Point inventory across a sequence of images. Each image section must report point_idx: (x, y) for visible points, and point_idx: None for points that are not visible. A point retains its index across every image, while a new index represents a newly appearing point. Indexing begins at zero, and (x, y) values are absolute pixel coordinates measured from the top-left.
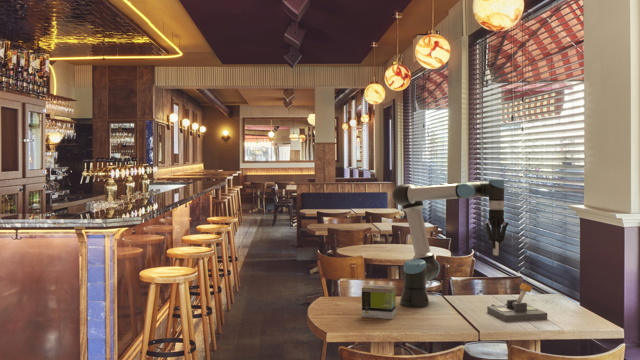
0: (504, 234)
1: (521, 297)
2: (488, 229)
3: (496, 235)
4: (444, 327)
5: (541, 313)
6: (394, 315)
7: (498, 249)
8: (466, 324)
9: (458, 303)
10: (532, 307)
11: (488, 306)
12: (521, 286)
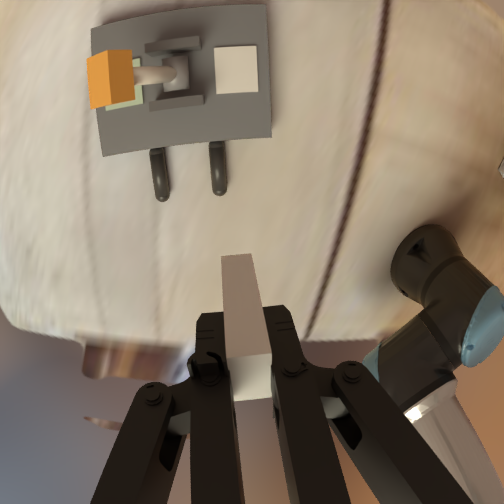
0: (112, 472)
1: (150, 66)
2: (465, 501)
3: (241, 474)
4: (454, 28)
5: (113, 22)
6: (502, 162)
7: (223, 293)
8: (398, 23)
9: (307, 259)
10: None
11: (268, 134)
12: (126, 90)
